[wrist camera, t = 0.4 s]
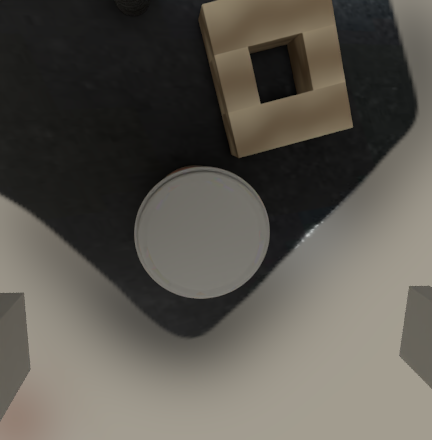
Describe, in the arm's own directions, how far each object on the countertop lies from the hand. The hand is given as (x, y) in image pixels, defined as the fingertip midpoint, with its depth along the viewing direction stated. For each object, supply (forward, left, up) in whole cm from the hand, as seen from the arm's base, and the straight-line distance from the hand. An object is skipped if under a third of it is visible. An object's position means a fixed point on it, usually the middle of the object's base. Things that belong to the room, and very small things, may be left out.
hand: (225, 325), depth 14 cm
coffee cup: (+1, 0, -26) cm, 26 cm away
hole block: (-9, +10, -26) cm, 29 cm away
